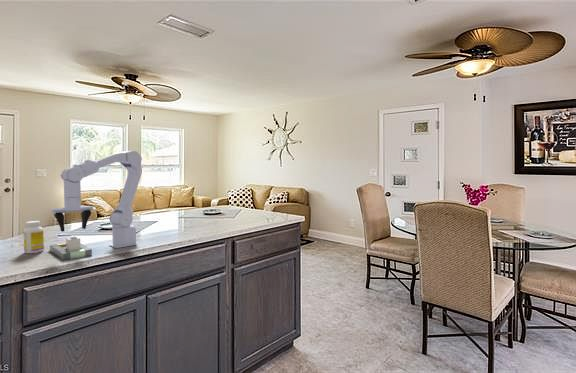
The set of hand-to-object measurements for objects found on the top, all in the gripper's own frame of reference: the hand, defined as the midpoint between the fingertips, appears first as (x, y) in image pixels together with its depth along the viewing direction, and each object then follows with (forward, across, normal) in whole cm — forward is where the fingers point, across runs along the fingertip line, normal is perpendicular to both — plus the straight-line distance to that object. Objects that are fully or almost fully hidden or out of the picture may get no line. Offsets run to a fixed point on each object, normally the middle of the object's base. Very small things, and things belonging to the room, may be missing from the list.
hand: (73, 229), depth 136 cm
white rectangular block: (+10, 0, 0) cm, 10 cm away
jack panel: (+10, 0, -4) cm, 11 cm away
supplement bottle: (+11, +10, -16) cm, 22 cm away
